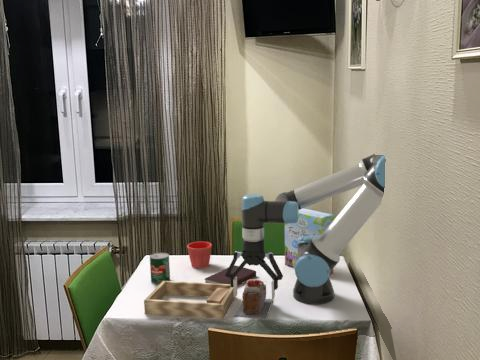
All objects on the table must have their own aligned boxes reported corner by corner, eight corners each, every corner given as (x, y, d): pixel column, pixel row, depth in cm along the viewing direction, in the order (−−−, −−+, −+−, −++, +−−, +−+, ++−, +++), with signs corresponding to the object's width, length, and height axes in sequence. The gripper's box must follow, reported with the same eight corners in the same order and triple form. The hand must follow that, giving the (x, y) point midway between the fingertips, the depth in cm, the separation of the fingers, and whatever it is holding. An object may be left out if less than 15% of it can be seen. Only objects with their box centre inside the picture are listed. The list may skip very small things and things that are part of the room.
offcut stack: (231, 299, 192) (230, 287, 191) (221, 316, 177) (221, 303, 177) (215, 298, 193) (214, 286, 192) (204, 315, 179) (203, 302, 178)
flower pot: (198, 271, 223) (197, 249, 221) (183, 265, 231) (182, 244, 230) (217, 265, 230) (216, 244, 228) (202, 260, 238) (201, 240, 237)
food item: (245, 299, 191) (245, 273, 189) (267, 299, 190) (266, 274, 188) (241, 314, 177) (240, 287, 176) (264, 315, 176) (264, 288, 175)
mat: (272, 300, 190) (272, 299, 190) (266, 318, 175) (266, 317, 175) (243, 298, 192) (243, 297, 192) (234, 316, 177) (234, 315, 177)
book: (256, 277, 216) (256, 270, 215) (228, 291, 201) (228, 283, 200) (233, 272, 223) (232, 264, 223) (203, 285, 208) (203, 277, 208)
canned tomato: (169, 276, 217) (168, 251, 215) (171, 283, 210) (170, 257, 208) (150, 278, 215) (148, 253, 214) (151, 285, 208) (150, 259, 206)
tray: (235, 297, 194) (235, 284, 193) (223, 319, 175) (223, 305, 174) (163, 293, 199) (163, 280, 199) (144, 313, 181) (144, 300, 180)
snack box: (283, 266, 228) (282, 209, 224) (296, 261, 234) (296, 206, 230) (321, 278, 212) (322, 217, 208) (334, 272, 218) (335, 213, 214)
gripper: (215, 240, 178) (217, 298, 182) (287, 243, 173) (288, 303, 177) (221, 234, 186) (222, 290, 189) (290, 237, 181) (290, 294, 184)
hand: (254, 296), depth 183 cm, fingers open, 13 cm apart
